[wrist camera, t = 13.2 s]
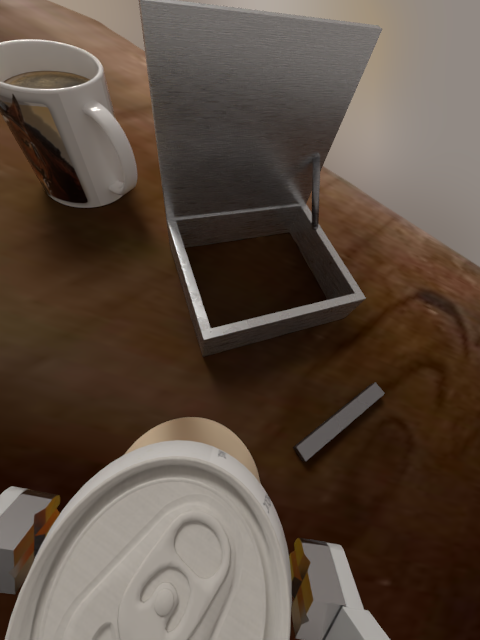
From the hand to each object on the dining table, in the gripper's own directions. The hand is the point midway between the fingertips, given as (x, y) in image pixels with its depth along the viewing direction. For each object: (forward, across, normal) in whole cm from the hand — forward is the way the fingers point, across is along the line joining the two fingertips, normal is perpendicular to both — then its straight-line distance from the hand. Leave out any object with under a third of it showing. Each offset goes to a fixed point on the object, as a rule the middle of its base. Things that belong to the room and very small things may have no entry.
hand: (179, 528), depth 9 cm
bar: (+13, -12, +3) cm, 18 cm away
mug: (+28, +20, -12) cm, 37 cm away
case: (+22, -2, -6) cm, 23 cm away
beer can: (+8, 0, +8) cm, 11 cm away
